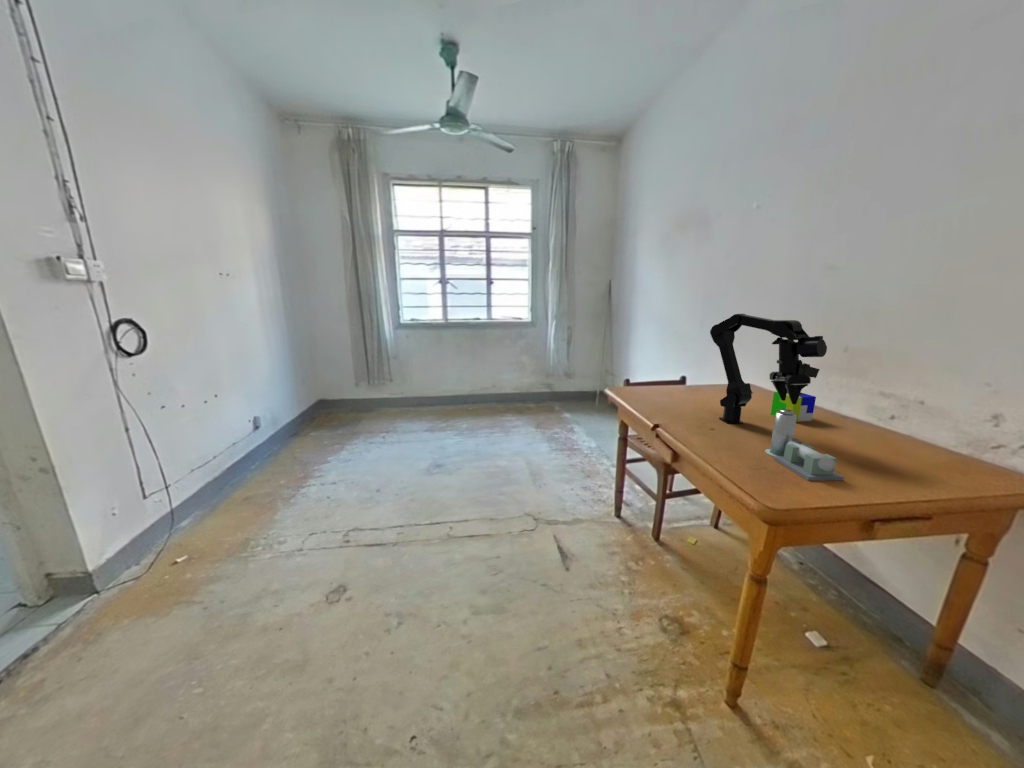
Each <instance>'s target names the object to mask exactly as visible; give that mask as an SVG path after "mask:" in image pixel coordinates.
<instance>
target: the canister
mask: <svg viewBox="0 0 1024 768" xmlns="http://www.w3.org/2000/svg"><path fill="white" fill-rule="evenodd" d="M796 418H797V415H796V414H794V411H791V410H787V409H780V411H778V412H776V415H775V416H774V421H773V428H772V435H771V440H770V445H769V449H770V451H769V452H770V453H772V454H774V455H777V456H783V457H784V452H785V447H786V444H787V443H788V442H789V441H792V438H794V434H795V428H796V423H797V422H796Z"/></svg>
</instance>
